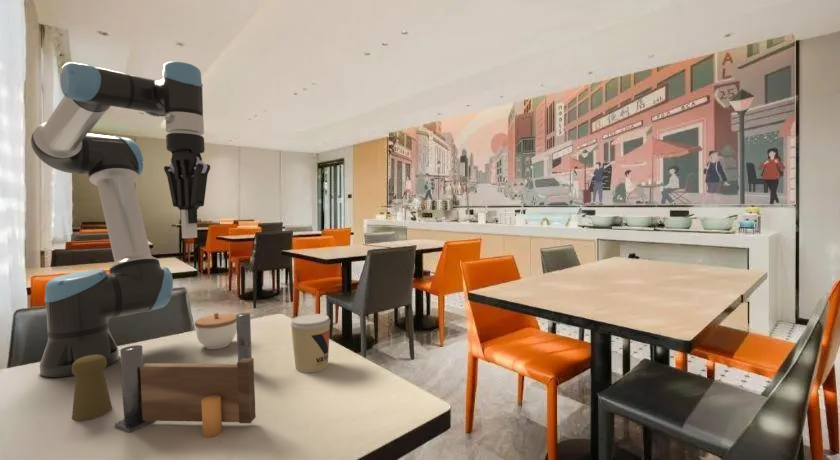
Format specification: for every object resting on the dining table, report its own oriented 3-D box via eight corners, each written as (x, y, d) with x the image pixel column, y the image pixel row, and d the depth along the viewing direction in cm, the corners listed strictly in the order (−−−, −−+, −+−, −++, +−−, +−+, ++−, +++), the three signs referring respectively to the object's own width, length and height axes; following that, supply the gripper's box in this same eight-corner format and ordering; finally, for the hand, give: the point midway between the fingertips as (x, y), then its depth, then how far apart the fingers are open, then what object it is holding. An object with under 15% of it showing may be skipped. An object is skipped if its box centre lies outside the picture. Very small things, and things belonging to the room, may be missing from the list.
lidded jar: (212, 338, 121) (211, 307, 120) (245, 340, 119) (244, 308, 119) (187, 351, 110) (185, 317, 109) (223, 353, 108) (221, 319, 108)
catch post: (198, 434, 69) (197, 401, 69) (214, 426, 72) (212, 393, 72) (210, 438, 68) (209, 404, 68) (225, 429, 71) (224, 396, 70)
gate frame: (114, 427, 72) (110, 350, 71) (243, 368, 98) (241, 312, 97) (129, 432, 70) (125, 354, 69) (257, 371, 96) (255, 314, 95)
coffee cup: (321, 375, 93) (319, 324, 93) (284, 372, 95) (283, 322, 94) (337, 360, 102) (336, 314, 102) (303, 358, 104) (302, 312, 104)
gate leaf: (149, 415, 74) (146, 357, 73) (255, 417, 73) (253, 358, 72) (141, 421, 72) (138, 361, 71) (250, 423, 71) (248, 362, 70)
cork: (67, 424, 73) (63, 365, 73) (77, 409, 79) (73, 354, 78) (108, 415, 76) (105, 359, 75) (115, 402, 81) (112, 349, 81)
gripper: (150, 134, 91) (155, 238, 92) (188, 129, 85) (193, 239, 86) (182, 139, 97) (186, 236, 99) (219, 134, 92) (223, 237, 93)
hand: (189, 237), depth 93 cm, fingers closed
